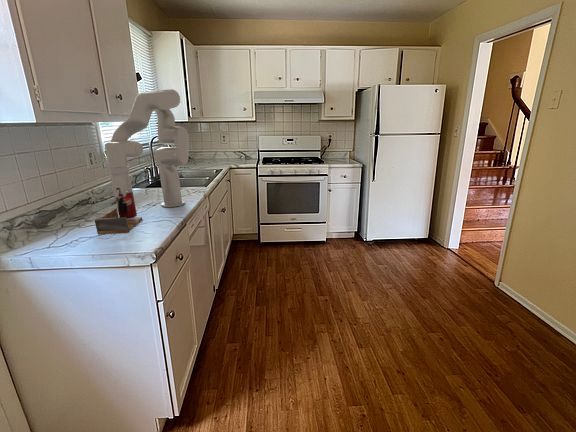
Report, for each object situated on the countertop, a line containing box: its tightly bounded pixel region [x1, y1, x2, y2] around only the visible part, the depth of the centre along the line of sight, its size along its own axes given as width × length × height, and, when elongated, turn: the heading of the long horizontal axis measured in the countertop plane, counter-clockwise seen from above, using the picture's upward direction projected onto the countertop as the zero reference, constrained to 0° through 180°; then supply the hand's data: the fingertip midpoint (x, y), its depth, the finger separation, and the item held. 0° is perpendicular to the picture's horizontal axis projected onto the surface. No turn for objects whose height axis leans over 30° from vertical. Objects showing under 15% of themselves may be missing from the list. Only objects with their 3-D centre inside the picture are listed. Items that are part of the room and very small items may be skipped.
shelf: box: [94, 207, 143, 236], centre depth 136 cm, size 18×12×6 cm, turn 6°
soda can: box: [115, 190, 138, 219], centre depth 139 cm, size 7×7×12 cm
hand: (127, 209), depth 140 cm, fingers closed on soda can, 7 cm apart
